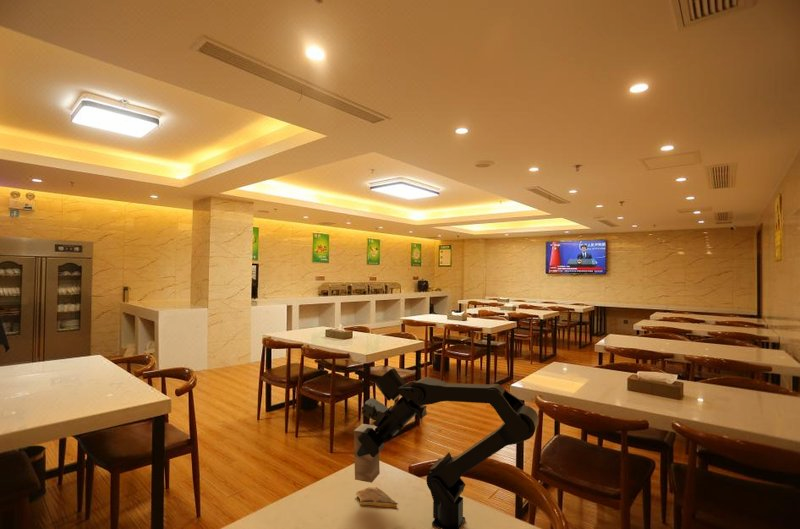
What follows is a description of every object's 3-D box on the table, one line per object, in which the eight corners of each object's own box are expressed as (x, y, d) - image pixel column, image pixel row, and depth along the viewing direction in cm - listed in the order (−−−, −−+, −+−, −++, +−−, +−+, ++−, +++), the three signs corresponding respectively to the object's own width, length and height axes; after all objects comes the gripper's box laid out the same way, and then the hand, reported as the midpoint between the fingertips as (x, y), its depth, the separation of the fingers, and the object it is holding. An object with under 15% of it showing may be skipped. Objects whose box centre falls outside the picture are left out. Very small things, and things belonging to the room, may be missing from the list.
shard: (398, 509, 103) (398, 502, 103) (373, 520, 98) (373, 512, 98) (375, 490, 112) (375, 484, 112) (352, 499, 107) (352, 493, 107)
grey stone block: (379, 473, 107) (378, 425, 108) (371, 482, 103) (370, 432, 103) (363, 470, 109) (362, 423, 110) (354, 479, 105) (353, 430, 105)
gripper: (392, 381, 114) (358, 415, 118) (364, 400, 97) (326, 440, 100) (418, 412, 111) (383, 446, 115) (394, 437, 94) (353, 476, 97)
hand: (362, 450), depth 107 cm, fingers closed on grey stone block, 5 cm apart
